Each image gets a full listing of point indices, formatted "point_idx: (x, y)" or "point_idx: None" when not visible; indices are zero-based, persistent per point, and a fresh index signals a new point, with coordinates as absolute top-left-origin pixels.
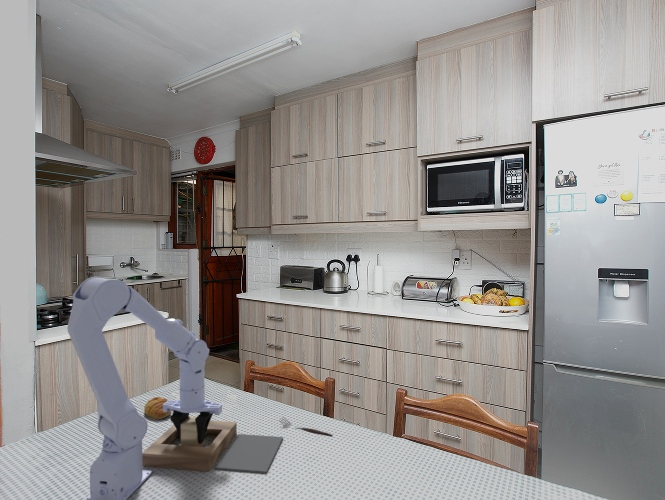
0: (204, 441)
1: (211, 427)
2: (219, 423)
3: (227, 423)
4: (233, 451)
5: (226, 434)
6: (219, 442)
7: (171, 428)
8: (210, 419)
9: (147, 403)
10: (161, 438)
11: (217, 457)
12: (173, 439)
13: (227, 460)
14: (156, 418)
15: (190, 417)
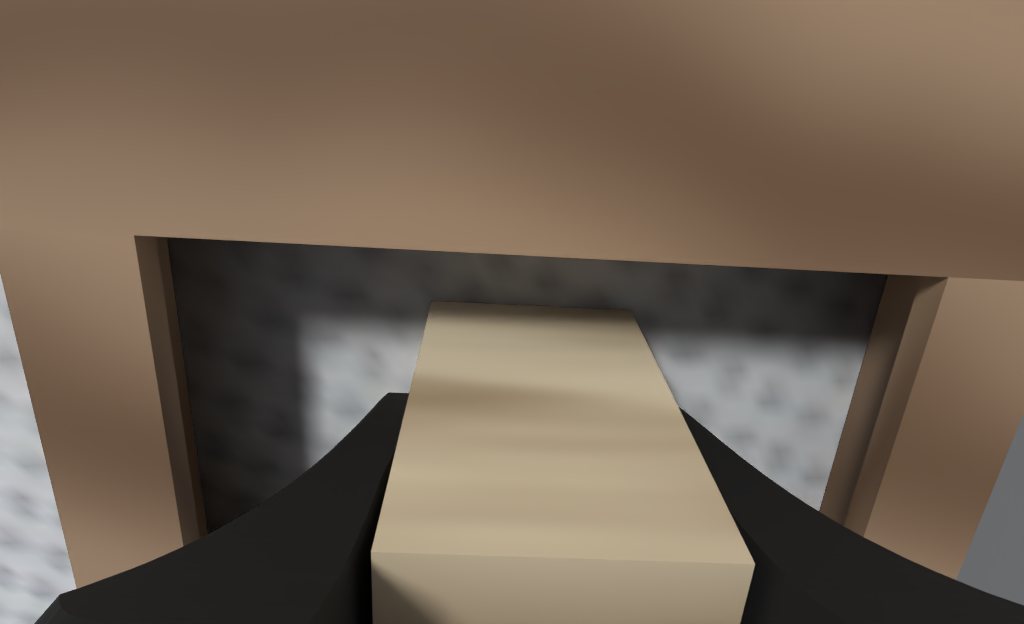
0: (639, 328)
1: (735, 226)
2: (850, 65)
3: (1012, 62)
4: (1021, 452)
5: (1021, 407)
6: (942, 573)
7: (43, 299)
8: (893, 558)
9: None
10: (113, 551)
11: None
12: (163, 240)
13: (968, 577)
14: None
15: (429, 593)
